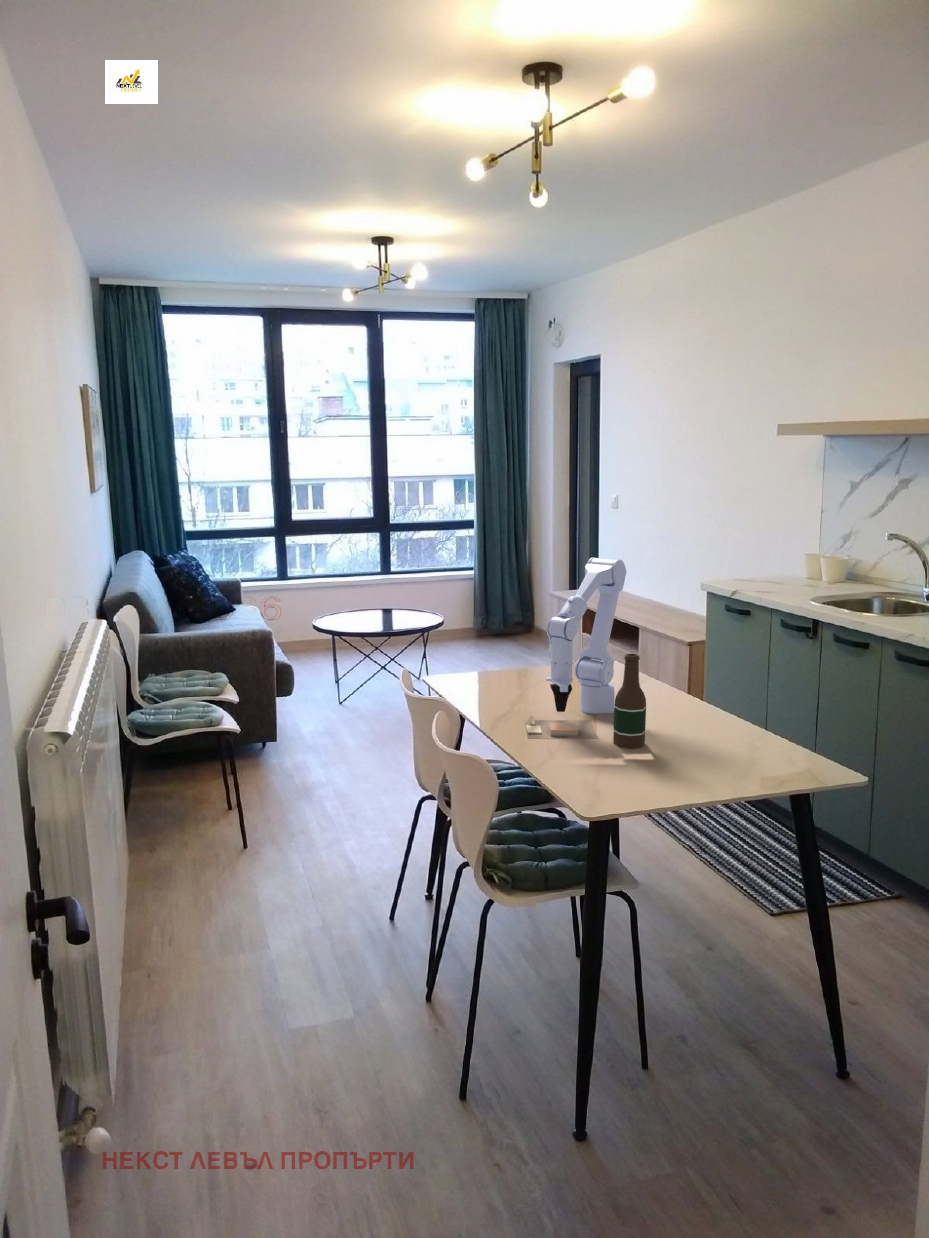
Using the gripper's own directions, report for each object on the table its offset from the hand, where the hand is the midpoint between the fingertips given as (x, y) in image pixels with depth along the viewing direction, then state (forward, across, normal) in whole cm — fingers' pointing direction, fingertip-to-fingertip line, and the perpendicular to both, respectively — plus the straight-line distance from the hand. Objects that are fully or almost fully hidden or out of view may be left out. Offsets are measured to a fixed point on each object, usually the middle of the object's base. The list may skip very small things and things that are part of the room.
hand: (560, 711), depth 239 cm
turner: (+3, +3, -8) cm, 9 cm away
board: (+4, +5, -1) cm, 7 cm away
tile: (+2, +5, 0) cm, 6 cm away
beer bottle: (+5, +17, +15) cm, 24 cm away
